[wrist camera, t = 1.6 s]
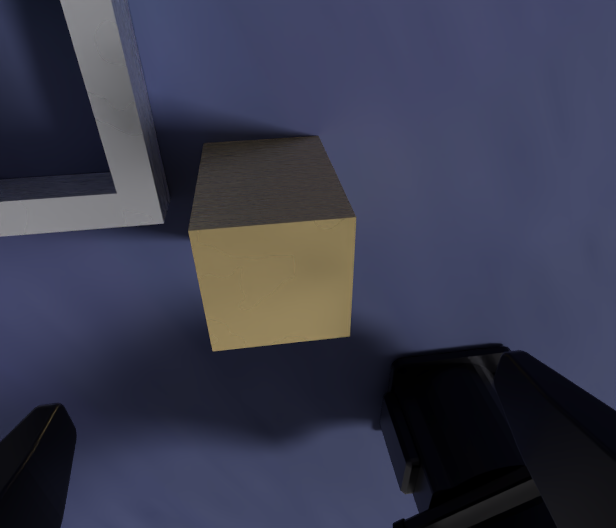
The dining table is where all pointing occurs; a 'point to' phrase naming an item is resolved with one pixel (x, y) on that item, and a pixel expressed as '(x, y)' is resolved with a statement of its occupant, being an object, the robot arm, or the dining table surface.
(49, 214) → the rail
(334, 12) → the dining table surface
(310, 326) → the golden block
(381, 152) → the dining table surface
